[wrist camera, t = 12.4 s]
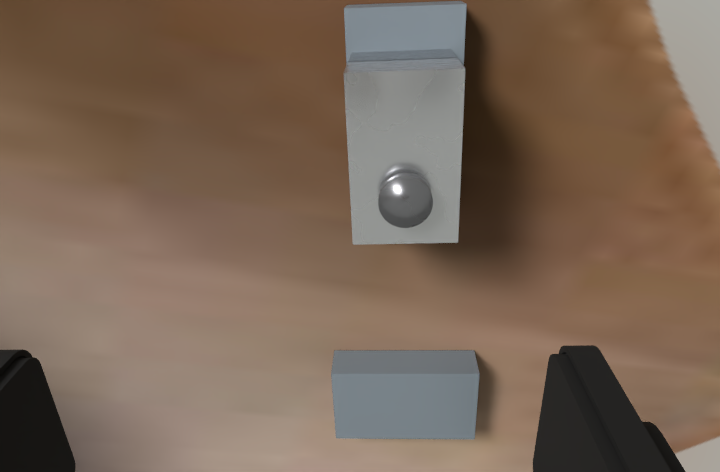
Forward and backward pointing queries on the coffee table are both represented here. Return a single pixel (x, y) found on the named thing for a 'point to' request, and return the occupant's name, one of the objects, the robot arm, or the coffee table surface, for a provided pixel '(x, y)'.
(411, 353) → the stand
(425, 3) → the stand
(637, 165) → the coffee table surface
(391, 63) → the block
